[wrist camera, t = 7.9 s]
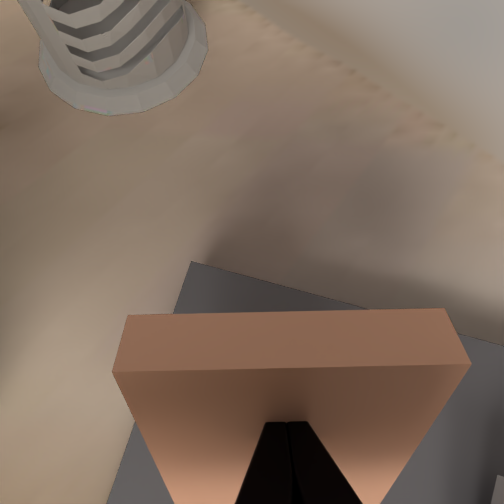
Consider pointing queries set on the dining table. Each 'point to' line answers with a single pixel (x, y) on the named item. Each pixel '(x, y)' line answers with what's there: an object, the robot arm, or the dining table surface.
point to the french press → (117, 51)
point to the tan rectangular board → (286, 390)
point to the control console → (428, 451)
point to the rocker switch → (498, 491)
